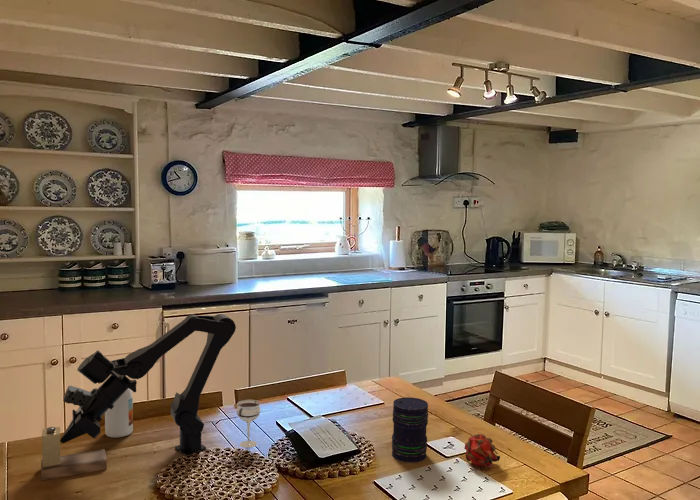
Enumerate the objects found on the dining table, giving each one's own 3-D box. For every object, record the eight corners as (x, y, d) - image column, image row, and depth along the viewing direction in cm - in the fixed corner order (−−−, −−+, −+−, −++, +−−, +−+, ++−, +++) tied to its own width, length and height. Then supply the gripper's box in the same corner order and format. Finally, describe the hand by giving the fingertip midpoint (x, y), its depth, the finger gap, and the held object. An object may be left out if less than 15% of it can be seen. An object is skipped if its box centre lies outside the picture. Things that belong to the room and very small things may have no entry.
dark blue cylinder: (429, 451, 165) (431, 400, 164) (422, 465, 156) (424, 411, 154) (396, 445, 168) (397, 395, 167) (387, 459, 159) (388, 406, 158)
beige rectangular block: (60, 456, 150) (59, 423, 149) (60, 464, 145) (59, 430, 144) (42, 459, 148) (42, 426, 147) (42, 467, 143) (41, 433, 143)
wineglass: (264, 442, 168) (265, 401, 167) (251, 450, 162) (251, 409, 161) (245, 437, 171) (245, 398, 170) (231, 446, 165) (231, 405, 164)
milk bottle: (123, 439, 168) (122, 372, 166) (99, 436, 169) (98, 370, 168) (138, 429, 175) (137, 365, 174) (115, 427, 177) (114, 363, 175)
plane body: (104, 458, 156) (104, 449, 155) (106, 469, 149) (106, 459, 149) (41, 468, 149) (41, 459, 149) (41, 480, 143) (40, 470, 142)
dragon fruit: (473, 459, 164) (490, 485, 152) (452, 444, 162) (466, 469, 150) (492, 436, 163) (510, 461, 152) (471, 421, 161) (487, 445, 149)
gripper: (82, 365, 157) (36, 411, 152) (85, 385, 140) (34, 437, 136) (113, 390, 161) (70, 435, 157) (120, 412, 144) (71, 463, 140)
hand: (61, 441), depth 147 cm, fingers closed
